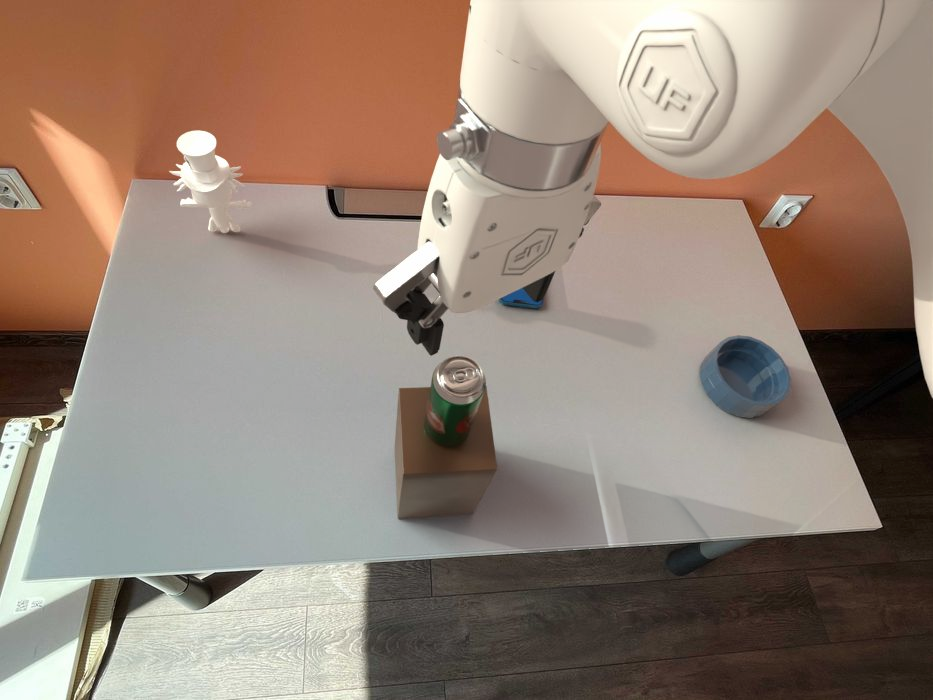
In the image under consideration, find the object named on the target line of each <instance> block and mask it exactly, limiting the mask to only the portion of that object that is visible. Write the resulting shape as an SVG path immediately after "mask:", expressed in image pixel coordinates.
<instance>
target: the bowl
mask: <svg viewBox="0 0 933 700" xmlns="http://www.w3.org/2000/svg"><path fill="white" fill-rule="evenodd" d="M699 378H700V383H701V385H702V388H703V389H704V392H705V393H706V395H707V397H708V398H709V399H710V400H711V401H712V402H713V403H714V404H715V405H716V406H717V407H719V408H720V409H721V410H723V411H725V412H726V413H728V414H731V415H733V416H735V417H739V418H749V419H752V418H756V417H761V416H763V415H764V414H765V413H767V412H768V411H769V410H771V409H773V408H774V407H775V406H777V405H778V404H779V403H780V402H782V401H783V400H785V399H786V398H787V396H788V394H789V392H790V391H791V381H792V378H791V374H790V371H789V368H788V365H786V363H785V361H784V359H783V357H782V356H781V355H780V354H779V353H778V352H777V351H776V350H775V349H774V348H773V347H772V346H770V345H769V344H767V343H765V341H763V340H760V339H758V338H755V337H752V336H750V335H749V336H748V335H732V336H727V337H726V338H724V339H723V340H721V341H720V342H718V344H716V346H715V347H713V348H712V350H711V351H710V352H709V353H708V354H706V356H705V357H704V359H702V362H701V364H700V368H699Z"/></svg>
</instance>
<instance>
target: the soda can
mask: <svg viewBox="0 0 933 700" xmlns="http://www.w3.org/2000/svg"><path fill="white" fill-rule="evenodd" d="M429 387H430V393H429V398H428V404H427V409H426V415H425V421H424V428H425V431H426V434H427V436H428V437H429V438H430V439H431V440H432V441H433V442H434V443H436V444H438V445H440V446H444V447H452V446H456V445H459V444H461V443H462V442H463V441H464V440H465V439H466V438H467V437H468V435H469V433H470V430H471V427H472V424H473V422H474V419H475V416H476V413H477V410H478V408H479V405H480V402H481V399H482V397H483V394H484V391H485V387H487V380H486V375H485V373H484V371H483V368H482V367H481V365H480V364H479V363H478V362H477V361H476V360H475V359H473V358H471V357H469V356H466V355H461V354H460V355H452V356H449V357H447V358H445V359H444V360H442V361H441V362H440V363H439V364H438V365H437V366H436V367H435V368H434V371H433V372H432V377H431V383H430V386H429Z"/></svg>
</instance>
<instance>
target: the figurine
mask: <svg viewBox="0 0 933 700" xmlns="http://www.w3.org/2000/svg"><path fill="white" fill-rule="evenodd" d="M176 148H177V151H179V152H180V154H182V156H183V160H184V162H183V163H182V165H181V164H179V163H176V164H175V166H176V167H177V168H179V169H180V170H175V171H173V170H168V172H169V173H170V174H171V175H173V176H176V177H180V178H179V179H178V180H177V181H175V182H174V183H173V186H174V187H179V188H178V189H177V190H176V192H178V193H179V192H182V191H183V190H185V189H186V188H189V189H190V193H191V197H192V198H190V197H187V198H186V199H184V198H181V200H180V202H179V206H180V207H181V208H189V209H193V208H207V209H208V211H209V214H210V218H209V221H208V228H207V229H208V231H209V232H212V233H214V232H217V231H218V230H220V232H221V233H222V234H228V233H229V231H230V230H231V231H232V232H234V233H239V232H241V230H242V229H241V228H240V226H239V224H238V223H237V222H236V221H235V220H234V219H233V217H231V216H230V213H229V209H236V210H251V209H252V206H253V205H252V201H248V200H247V199H246V198H245V199H242V200H233V201H231V200H232V196H233V192H234V193H235V194H240V193H239V191H238V190H237V189H236V188H237V186H238V187H241V188H244V187H246V185H245V184H244V183H242V182H241V181H240V180H237V179H236V178H240V177H241V176H243V175H244V173H242V172H240V173H239V172H237V171H240V169H242V166H241V165H240V166H232V167H231V166H230V164H229V162H228V161H227V160H226V159H225V158H223V157H221V156H219V155H216V148H217V139H216V137H215V135H213V134H212V133H211V132H208V131H205V130H199V129H198V130H190V131H187V132H185V133H183V134H181V135H180V136H179V137H178V138H177V140H176ZM236 172H237V173H236ZM228 208H229V209H228Z"/></svg>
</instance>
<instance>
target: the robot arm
mask: <svg viewBox="0 0 933 700" xmlns="http://www.w3.org/2000/svg"><path fill="white" fill-rule="evenodd" d="M462 54H463V55H462V60H461V66H460V67H461V68H460V75H459V76H460V77H459V82H458V88H457V96H456V102H455V103H456V104H455V105H456V106H455V111H454V116H453V117H454V119H453V123H452V124H451V125H450V126H449V127H448V128H447V129H443V130H441V131H438V133H437V134H436V146H437V150H438V152H439V155H438V158H437V160H436V164H435V167H434V169H433V172H432V175H431V177H430V181H429V186H428V189H427V192H426V196H425V201H424V205H423V209H422V214H421V220H420V225H419V233H418V239H417V248H416V249H417V250H415V251H414V252H413V253H411V254H410V255H409V256H408V257H406V258H405V259H403V261H401V262H400V263H399V264H397V265H396V266H395V267H394V268H392V270H390V271H388V272H387V273H386V274H384V276H382V277H381V278H380V279H378V280H377V281H376V282H375V283H374V284H373V286H372V289H373V291H374V292H375V295H377V297H378V298H379V300H380V301H381V303H382V304H383V305H384V307H386V308H387V309H389V310H390V311H391V312H392V313H394V314H395V315H396V316H397V317H398V319H400V320H404V321H406V330H407V333H408V335H409V337H410V338H411V340H412V341H413V342H414V344H415V345H420V344H421V345H422V346H423V348H424V349H425V350H426V352H427V353H428V355H429V356H430V357H431V356H434V355H436V354H438V353H439V351H440V349H441V344H442V343H441V342H442V338H443V332H444V327H445V323H444V320H443V319H442V318H441V317H442V316H444V314H445V313H446V312H447V311H448V310H449V311H450V312H451V313H453V314H465V313H470V312H473V311H476V310H478V309H480V308H483V307H486V306H487V305H489V304H491V303H493V302H496V301H499V299H500V298H502V297H504V296H506V295H508V294H510V293H512V292H515V291H517V290H519V289H521V288H523V289H524V291H525V292H526V293H527V294H528V295H529V297H530V298H531V299H532V300H533V301H534V302H539V301H541V300H543V301H544V299H545V296H546V294H547V293H548V290H549V287H550V285H551V283H552V281H553V278H554V275H555V274H556V271H557V270H559V269H561V268H562V267H563V266H564V265H565V264H566V263H567V262H568V261H569V260H570V257H571V256H572V254H573V252H574V250H575V248H576V246H577V243H578V240H579V239H580V238H581V237H582V236H583V233H584V231H585V227H584V226H585V225H587V224H588V223H589V221H590V220H591V219H592V218H593V217H594V215H595V214H596V213H597V211H599V209H600V208H601V206H602V202H601V201H600V200H599V199H598V197H596V195H595V191H596V186H597V183H598V179H599V174H600V167H601V160H602V145H601V142H602V139H603V137H604V135H605V133H606V129H607V127H608V125H609V123H610V124H611V126H612V127H613V128H614V129H615V130H616V131H617V132H618V133H619V134H620V135H621V136H622V138H624V140H626V142H628V143H629V144H630V145H631V147H632V148H634V149H635V150H636V151H638V152H639V153H640V154H641V155H643V156H644V157H645V158H647V159H648V160H649V161H650V162H652V163H654V164H656V165H657V166H659V167H661V168H662V169H664V170H666V171H668V172H670V173H673V174H675V175H678V176H682V177H685V178H690V179H697V180H716V179H717V180H719V179H725V178H730V177H734V176H737V175H740V174H743V173H746V172H749V171H751V170H753V169H754V168H758V167H759V166H761V165H762V164H764V163H766V162H767V161H768V160H770V159H772V158H773V157H774V156H776V155H777V154H778V153H780V152H781V151H782V150H784V149H785V148H787V147H788V146H789V145H790V144H791V143H792V142H793V141H794V140H796V138H798V136H800V135H801V133H803V132H804V131H805V130H806V129H807V128H808V127H809V126H810V125H811V124H812V123H813V122H814V121H815V120H816V119H817V118H818V117H819V116H820V115H821V114H822V113H823V112H824V111H825V110H826V109H827V110H828V111H829V112H830V113H831V114H832V115H833V116H834V117H836V118H837V119H838V120H839V121H840V122H841V123H842V124H843V125H844V126H845V127H846V128H847V129H848V131H849V132H850V133H852V135H853V136H854V137H855V138H856V139H857V140H858V142H859V143H860V144H861V145H863V147H864V149H866V151H867V152H868V154H869V155H870V156H871V157H872V159H873V160H874V161H875V163H876V165H877V166H878V168H879V169H880V171H881V172H882V174H883V176H884V177H885V179H886V180H887V182H888V184H889V187H890V188H891V191H892V193H893V195H894V197H895V199H896V201H897V204H898V207H899V209H900V212H901V215H902V218H903V220H904V224H905V228H906V231H907V236H908V240H909V248H910V255H911V264H912V265H911V266H912V282H913V284H912V285H913V306H914V307H913V308H914V309H913V310H914V311H913V312H914V323H915V332H916V337H917V344H918V350H919V357H920V362H921V366H922V371H923V376H924V380H925V382H926V384H927V388H928V391H929V394H930V396H931V398H932V399H933V0H470V2H469V9H468V15H467V23H466V31H465V38H464V45H463V53H462ZM431 285H432V286H433V287H434V288H435V290H436V291H437V293H438V295H437V297H436V298H435V299H434V300H433V301H432V302H431V300H430V299H429V298H428V297H427V295H426V293H425V292H426V290H427V289H428V288H429V287H430V286H431Z"/></svg>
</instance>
